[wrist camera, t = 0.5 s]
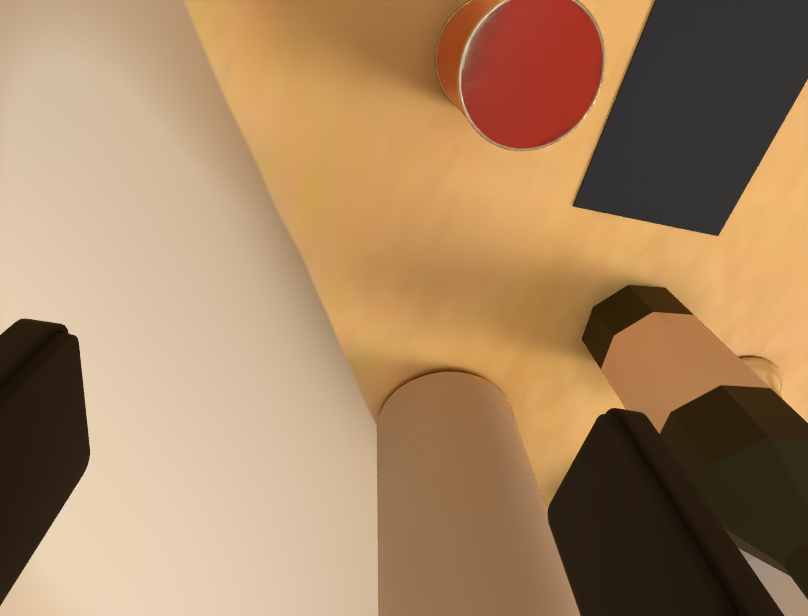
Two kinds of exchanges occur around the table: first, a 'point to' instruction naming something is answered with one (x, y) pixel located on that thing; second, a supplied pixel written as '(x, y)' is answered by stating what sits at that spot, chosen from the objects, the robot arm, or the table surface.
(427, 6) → the table surface
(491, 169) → the table surface
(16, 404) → the robot arm
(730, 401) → the wine bottle
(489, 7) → the tin can
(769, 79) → the placemat
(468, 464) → the cylinder vase
